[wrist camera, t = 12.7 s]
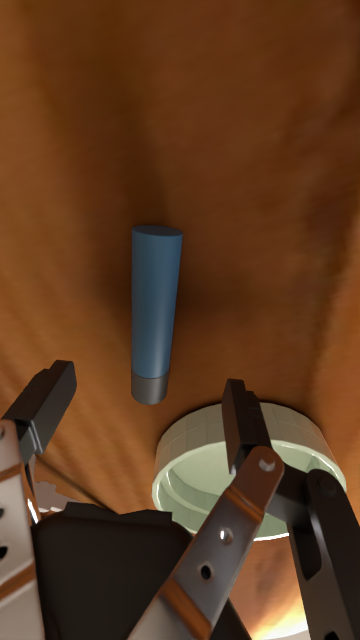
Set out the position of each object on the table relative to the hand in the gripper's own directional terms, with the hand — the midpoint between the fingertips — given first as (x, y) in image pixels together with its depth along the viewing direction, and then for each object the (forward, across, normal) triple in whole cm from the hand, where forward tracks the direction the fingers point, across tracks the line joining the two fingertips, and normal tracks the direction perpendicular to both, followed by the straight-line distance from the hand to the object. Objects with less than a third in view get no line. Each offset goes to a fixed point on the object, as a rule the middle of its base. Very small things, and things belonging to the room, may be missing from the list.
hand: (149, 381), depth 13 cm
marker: (+8, 0, +1) cm, 8 cm away
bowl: (+8, -10, +19) cm, 23 cm away
